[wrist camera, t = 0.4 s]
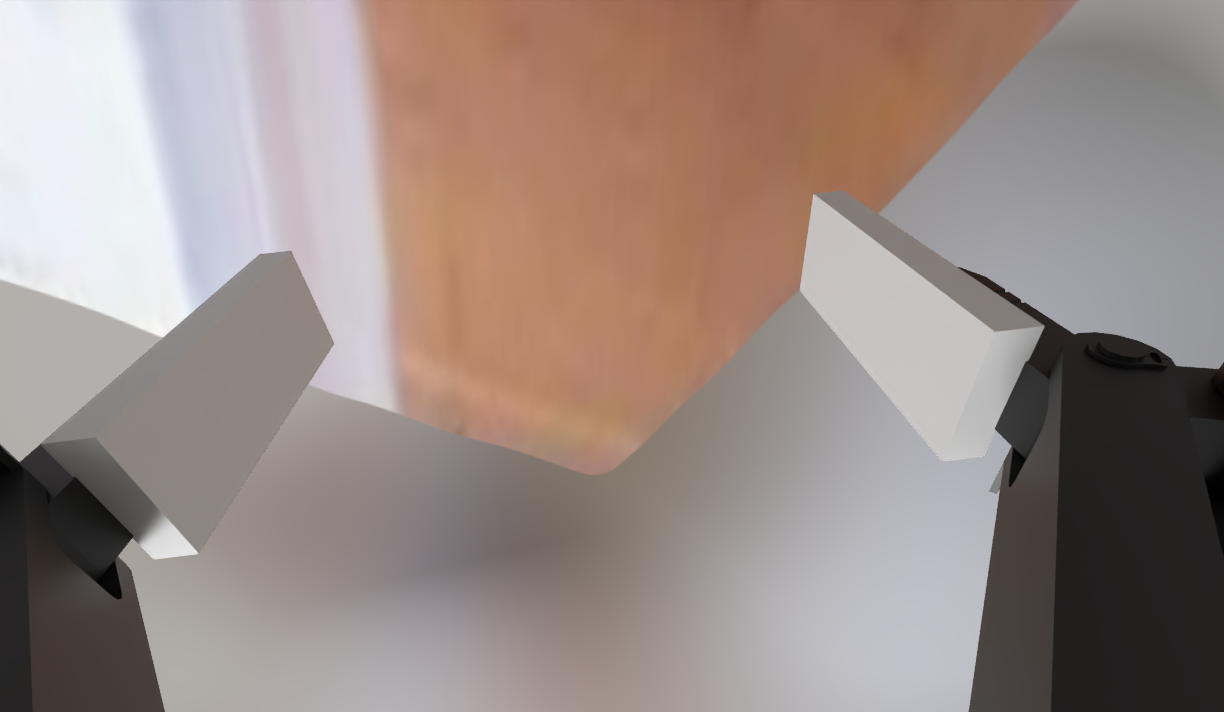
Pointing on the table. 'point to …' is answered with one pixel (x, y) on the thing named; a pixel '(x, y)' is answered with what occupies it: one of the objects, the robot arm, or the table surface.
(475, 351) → the table surface
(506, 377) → the table surface
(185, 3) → the table surface
